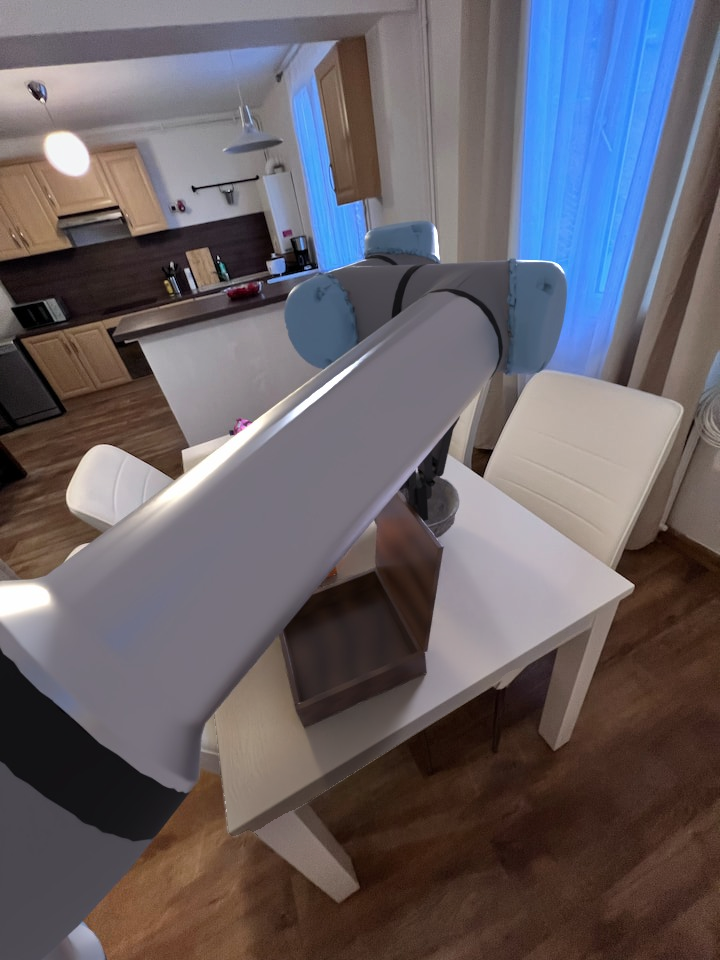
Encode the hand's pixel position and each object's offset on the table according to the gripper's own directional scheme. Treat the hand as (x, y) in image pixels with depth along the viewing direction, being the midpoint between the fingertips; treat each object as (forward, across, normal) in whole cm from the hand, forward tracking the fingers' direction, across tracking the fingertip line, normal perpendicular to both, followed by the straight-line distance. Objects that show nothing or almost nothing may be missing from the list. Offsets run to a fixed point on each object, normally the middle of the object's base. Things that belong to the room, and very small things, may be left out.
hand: (419, 515), depth 63 cm
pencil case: (+25, +24, -81) cm, 88 cm away
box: (+25, +16, 0) cm, 30 cm away
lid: (+8, +4, 0) cm, 9 cm away
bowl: (+26, -9, -22) cm, 35 cm away
